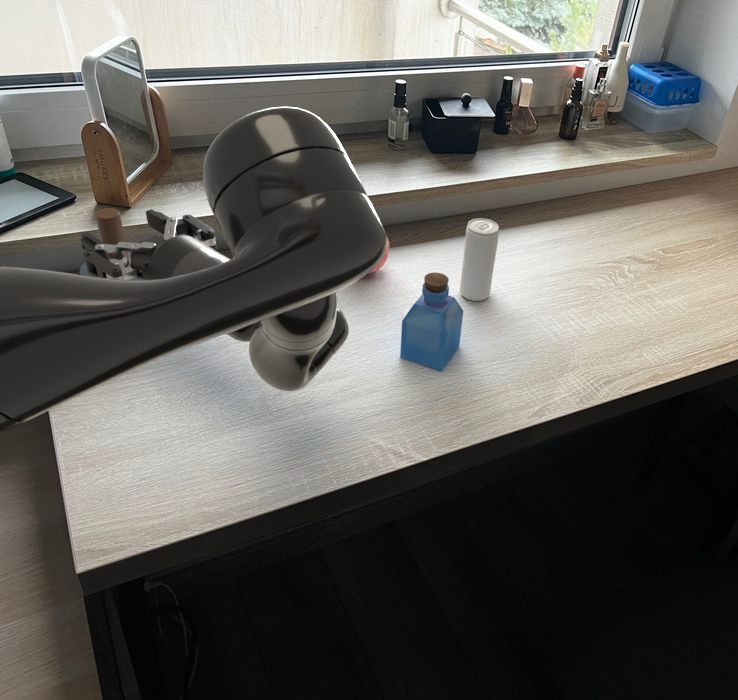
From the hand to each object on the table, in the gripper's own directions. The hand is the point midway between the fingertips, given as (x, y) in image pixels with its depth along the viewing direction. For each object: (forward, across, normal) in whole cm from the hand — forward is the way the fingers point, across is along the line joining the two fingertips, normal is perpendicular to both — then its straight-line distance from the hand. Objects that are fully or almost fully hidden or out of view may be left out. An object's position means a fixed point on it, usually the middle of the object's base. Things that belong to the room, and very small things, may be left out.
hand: (117, 227), depth 89 cm
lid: (+2, 0, +8) cm, 8 cm away
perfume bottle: (-32, -23, +15) cm, 43 cm away
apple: (-12, -32, +15) cm, 37 cm away
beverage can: (-28, -39, +15) cm, 51 cm away
